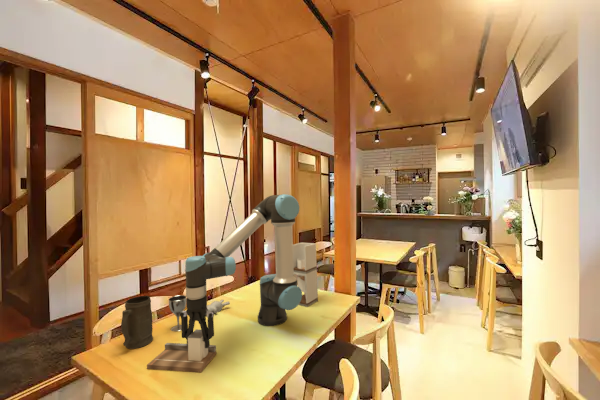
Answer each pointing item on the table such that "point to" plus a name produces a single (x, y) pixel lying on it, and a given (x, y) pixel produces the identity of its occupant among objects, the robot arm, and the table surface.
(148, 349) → the table surface
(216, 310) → the bunny figurine
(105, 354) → the table surface
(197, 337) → the block
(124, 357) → the table surface
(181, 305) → the wine glass
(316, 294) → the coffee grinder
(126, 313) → the beer stein
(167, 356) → the board
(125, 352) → the table surface
